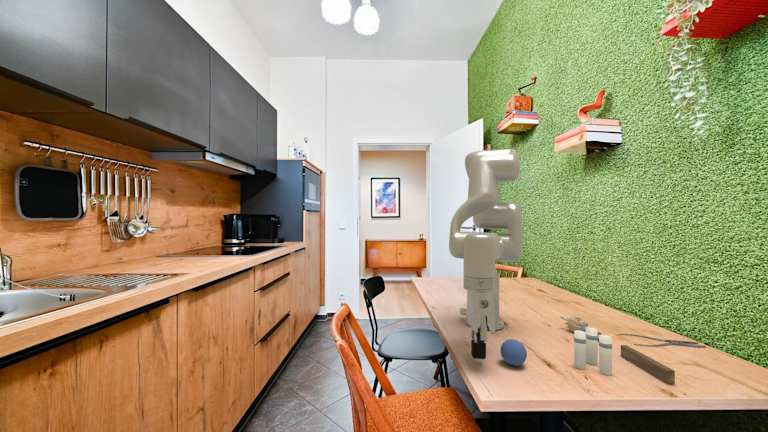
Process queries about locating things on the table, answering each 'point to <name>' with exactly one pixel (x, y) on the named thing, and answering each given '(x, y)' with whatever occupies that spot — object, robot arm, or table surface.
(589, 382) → the table surface
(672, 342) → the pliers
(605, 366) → the pin back right
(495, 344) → the table surface
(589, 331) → the pin back left
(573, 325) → the toy
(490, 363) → the table surface
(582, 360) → the pin front
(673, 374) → the bar
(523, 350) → the ball
